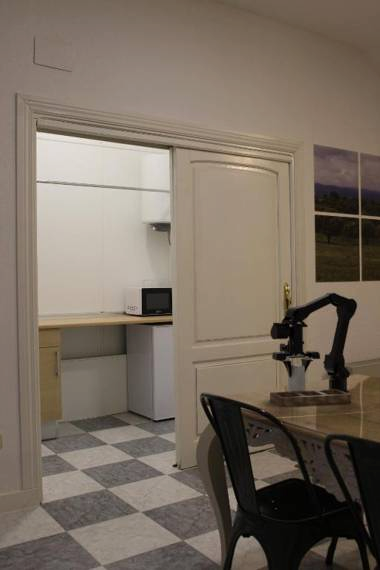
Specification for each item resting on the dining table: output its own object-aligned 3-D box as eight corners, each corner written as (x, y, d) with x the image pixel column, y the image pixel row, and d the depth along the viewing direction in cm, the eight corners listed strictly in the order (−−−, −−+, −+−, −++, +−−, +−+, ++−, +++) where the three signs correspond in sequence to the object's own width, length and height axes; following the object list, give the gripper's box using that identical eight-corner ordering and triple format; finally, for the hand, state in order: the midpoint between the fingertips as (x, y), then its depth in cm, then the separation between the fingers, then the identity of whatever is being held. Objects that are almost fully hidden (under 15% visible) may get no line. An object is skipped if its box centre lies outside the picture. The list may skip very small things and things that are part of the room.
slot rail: (336, 396, 232) (336, 388, 232) (351, 402, 220) (350, 394, 220) (270, 400, 226) (269, 392, 226) (281, 406, 214) (281, 398, 214)
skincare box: (306, 395, 235) (305, 365, 235) (298, 396, 232) (297, 366, 232) (295, 393, 240) (295, 364, 240) (287, 394, 237) (287, 365, 237)
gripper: (309, 336, 246) (309, 373, 246) (267, 337, 242) (267, 375, 242) (320, 338, 235) (320, 376, 235) (277, 339, 231) (277, 379, 231)
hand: (296, 376), depth 236 cm, fingers open, 5 cm apart
